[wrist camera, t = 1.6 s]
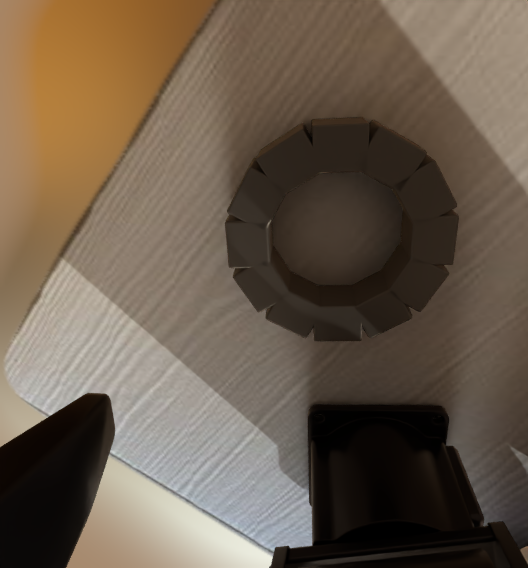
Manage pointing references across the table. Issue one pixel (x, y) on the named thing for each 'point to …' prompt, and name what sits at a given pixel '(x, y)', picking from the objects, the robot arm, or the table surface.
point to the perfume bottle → (525, 553)
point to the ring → (374, 289)
